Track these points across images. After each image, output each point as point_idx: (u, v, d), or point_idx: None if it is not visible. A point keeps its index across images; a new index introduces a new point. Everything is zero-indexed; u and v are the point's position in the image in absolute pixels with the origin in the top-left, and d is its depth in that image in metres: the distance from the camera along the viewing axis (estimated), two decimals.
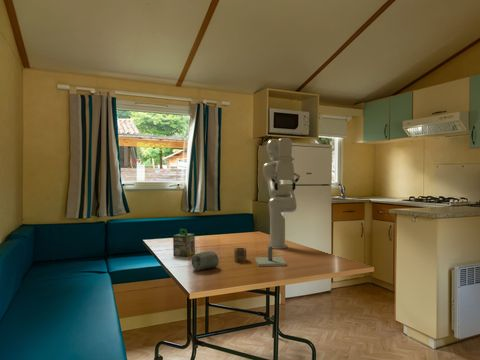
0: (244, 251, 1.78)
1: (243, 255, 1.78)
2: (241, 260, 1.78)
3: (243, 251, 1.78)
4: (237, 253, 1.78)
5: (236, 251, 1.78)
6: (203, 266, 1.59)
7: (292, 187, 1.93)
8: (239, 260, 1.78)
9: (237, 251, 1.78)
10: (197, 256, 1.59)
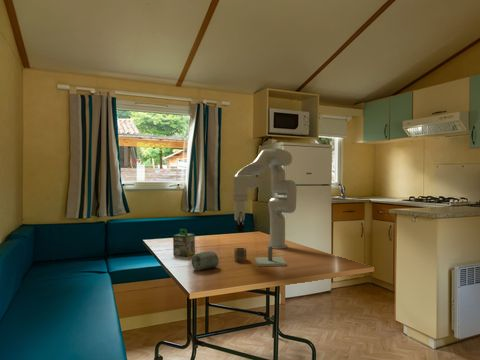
0: (244, 251, 1.78)
1: (243, 255, 1.78)
2: (241, 260, 1.78)
3: (243, 251, 1.78)
4: (237, 253, 1.78)
5: (236, 251, 1.78)
6: (203, 266, 1.59)
7: (238, 226, 1.85)
8: (239, 260, 1.78)
9: (237, 251, 1.78)
10: (197, 256, 1.59)
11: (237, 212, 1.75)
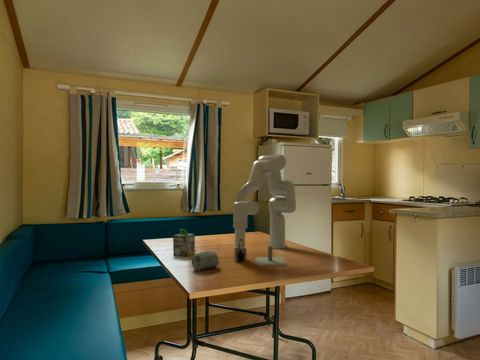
0: (244, 251, 1.78)
1: None
2: None
3: None
4: (237, 253, 1.78)
5: (236, 251, 1.78)
6: (203, 266, 1.59)
7: None
8: None
9: (237, 251, 1.78)
10: (197, 256, 1.59)
11: (237, 239, 1.76)
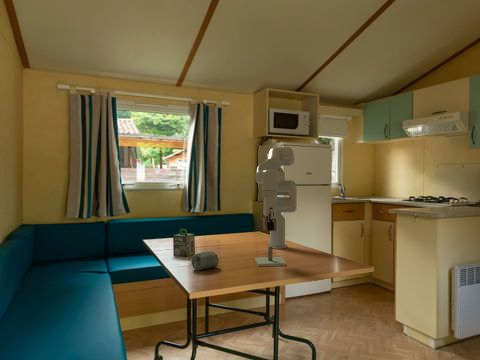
0: (274, 220, 1.73)
1: None
2: None
3: None
4: None
5: (266, 220, 1.73)
6: (203, 266, 1.59)
7: None
8: None
9: (267, 220, 1.73)
10: (197, 256, 1.59)
11: (267, 208, 1.71)
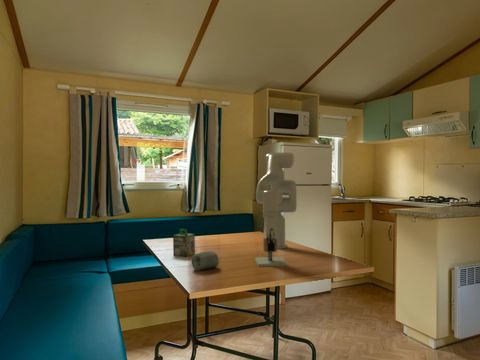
0: (274, 241, 1.73)
1: None
2: None
3: None
4: (267, 243, 1.73)
5: (266, 241, 1.73)
6: (203, 266, 1.59)
7: None
8: None
9: (267, 241, 1.73)
10: (197, 256, 1.59)
11: (268, 229, 1.71)
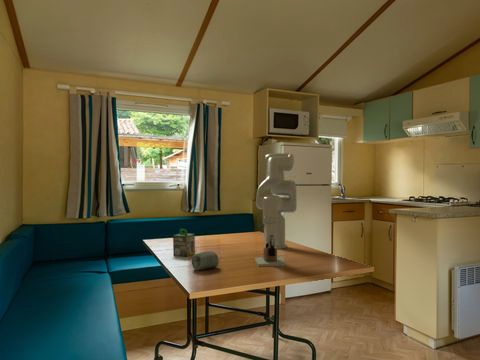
0: None
1: None
2: (271, 260, 1.73)
3: None
4: (267, 253, 1.73)
5: (266, 251, 1.73)
6: (203, 266, 1.59)
7: None
8: (269, 260, 1.73)
9: (267, 251, 1.73)
10: (197, 256, 1.59)
11: (268, 235, 1.71)
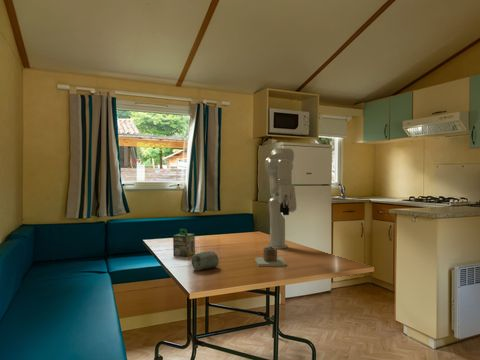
0: (274, 251, 1.73)
1: (273, 255, 1.73)
2: (271, 260, 1.73)
3: (273, 251, 1.73)
4: (267, 253, 1.73)
5: (266, 251, 1.73)
6: (203, 266, 1.59)
7: (282, 209, 1.90)
8: (269, 260, 1.73)
9: (267, 251, 1.73)
10: (197, 256, 1.59)
11: (282, 195, 1.80)
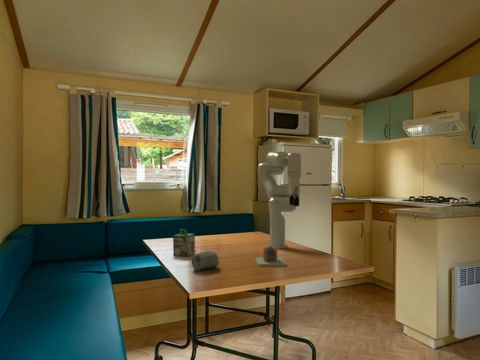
0: (274, 251, 1.73)
1: (273, 255, 1.73)
2: (271, 260, 1.73)
3: (273, 251, 1.73)
4: (267, 253, 1.73)
5: (266, 251, 1.73)
6: (203, 266, 1.59)
7: (291, 202, 1.96)
8: (269, 260, 1.73)
9: (267, 251, 1.73)
10: (197, 256, 1.59)
11: (293, 187, 1.87)
